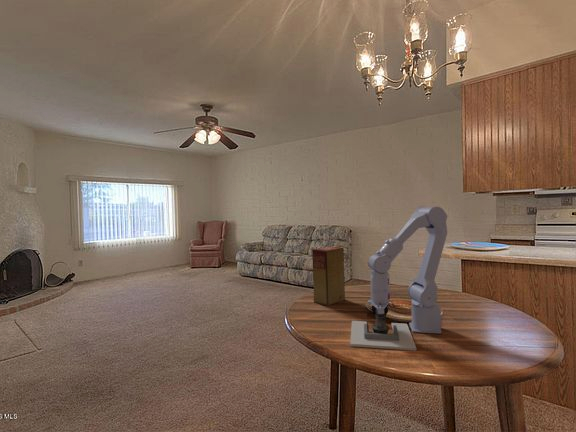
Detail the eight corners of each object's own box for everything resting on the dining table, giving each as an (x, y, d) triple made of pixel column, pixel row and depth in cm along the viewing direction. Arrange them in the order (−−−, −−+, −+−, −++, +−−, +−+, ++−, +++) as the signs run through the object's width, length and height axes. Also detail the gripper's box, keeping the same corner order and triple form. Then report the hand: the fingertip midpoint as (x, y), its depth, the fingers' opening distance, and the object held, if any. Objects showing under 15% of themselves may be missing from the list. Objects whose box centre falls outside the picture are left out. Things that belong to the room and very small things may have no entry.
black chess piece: (390, 341, 104) (389, 305, 103) (372, 340, 105) (371, 304, 104) (388, 334, 109) (388, 300, 109) (371, 333, 111) (370, 299, 110)
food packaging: (330, 295, 156) (329, 245, 155) (346, 299, 149) (345, 247, 148) (312, 302, 147) (311, 249, 146) (328, 306, 140) (326, 250, 139)
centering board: (406, 325, 116) (406, 319, 116) (416, 350, 96) (416, 342, 96) (351, 322, 120) (351, 316, 120) (350, 346, 101) (350, 338, 101)
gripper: (367, 283, 118) (367, 318, 119) (368, 294, 104) (368, 334, 105) (386, 283, 117) (387, 319, 117) (390, 295, 103) (391, 336, 103)
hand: (380, 327), depth 111 cm, fingers closed
